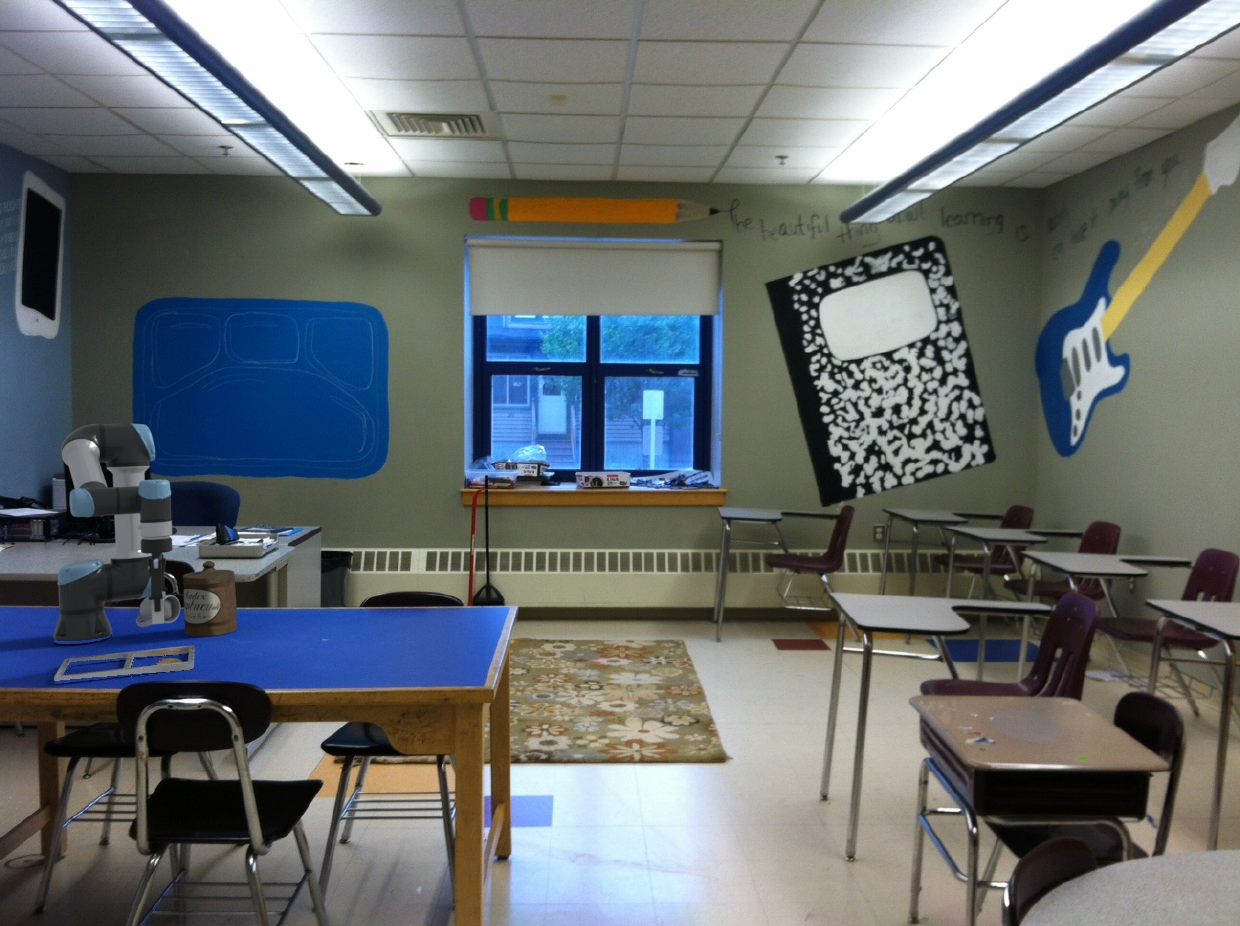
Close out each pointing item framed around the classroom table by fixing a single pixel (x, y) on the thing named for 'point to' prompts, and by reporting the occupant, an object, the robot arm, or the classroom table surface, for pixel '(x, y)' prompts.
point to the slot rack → (162, 666)
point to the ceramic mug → (170, 610)
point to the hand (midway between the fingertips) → (159, 619)
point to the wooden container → (209, 602)
